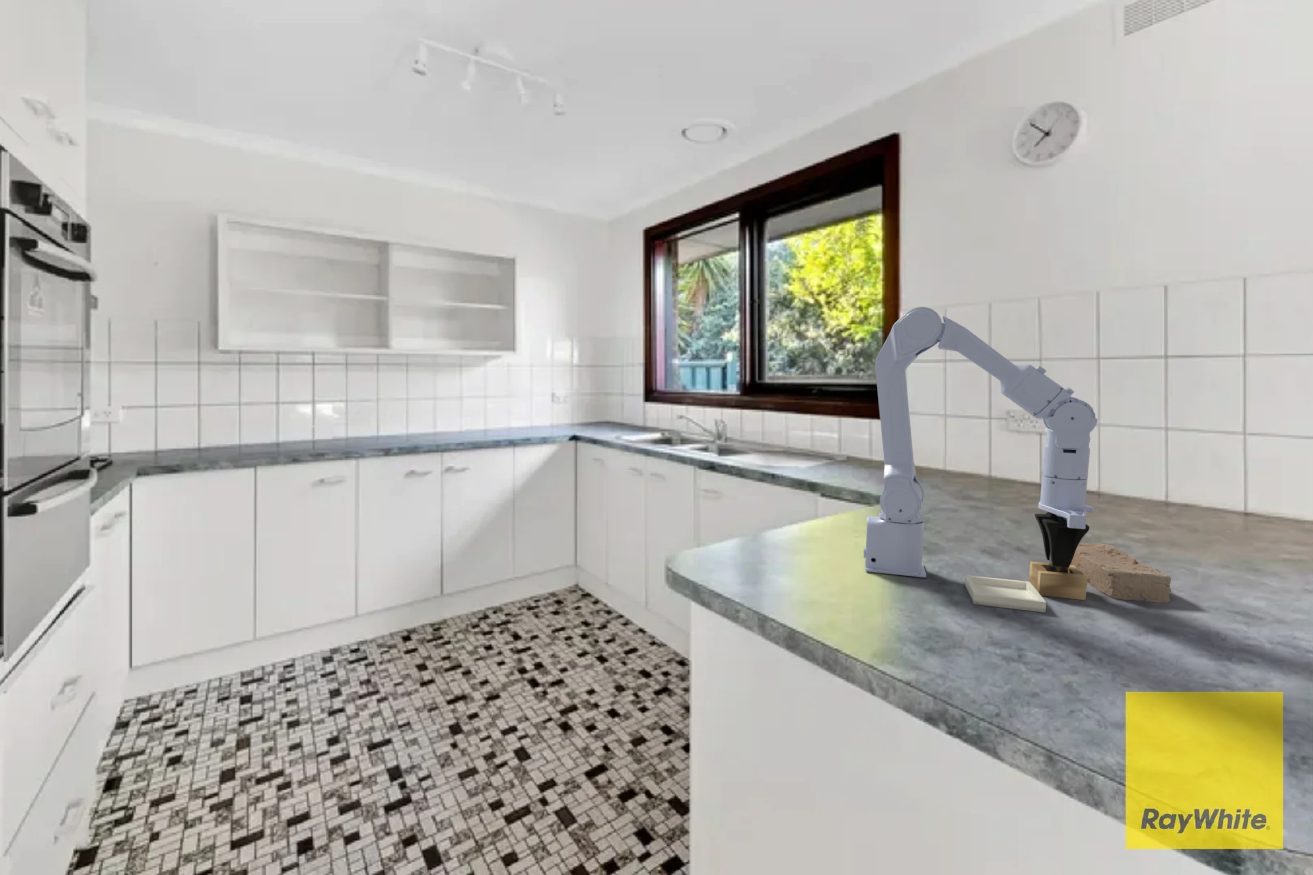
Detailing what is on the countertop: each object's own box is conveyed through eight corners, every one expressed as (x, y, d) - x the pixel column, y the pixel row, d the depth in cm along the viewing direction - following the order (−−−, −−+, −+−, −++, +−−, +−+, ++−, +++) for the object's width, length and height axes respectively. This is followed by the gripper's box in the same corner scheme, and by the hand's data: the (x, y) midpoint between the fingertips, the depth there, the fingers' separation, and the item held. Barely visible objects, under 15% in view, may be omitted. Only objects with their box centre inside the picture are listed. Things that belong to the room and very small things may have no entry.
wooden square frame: (1038, 595, 89) (1040, 572, 89) (1028, 582, 95) (1030, 561, 95) (1085, 600, 87) (1087, 577, 87) (1072, 586, 93) (1073, 565, 93)
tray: (973, 604, 86) (974, 594, 86) (964, 583, 94) (964, 574, 94) (1045, 612, 83) (1046, 602, 83) (1028, 590, 91) (1029, 581, 91)
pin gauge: (1050, 582, 90) (1053, 541, 90) (1046, 577, 93) (1049, 537, 92) (1068, 584, 89) (1072, 542, 89) (1064, 579, 92) (1067, 538, 91)
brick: (1174, 604, 87) (1176, 573, 86) (1110, 600, 88) (1113, 570, 88) (1108, 569, 103) (1110, 543, 102) (1056, 566, 104) (1057, 540, 104)
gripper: (1114, 486, 81) (1106, 581, 83) (1079, 471, 95) (1072, 553, 96) (1055, 483, 84) (1048, 575, 85) (1028, 468, 97) (1023, 548, 99)
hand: (1057, 563), depth 91 cm, fingers closed on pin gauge, 2 cm apart
